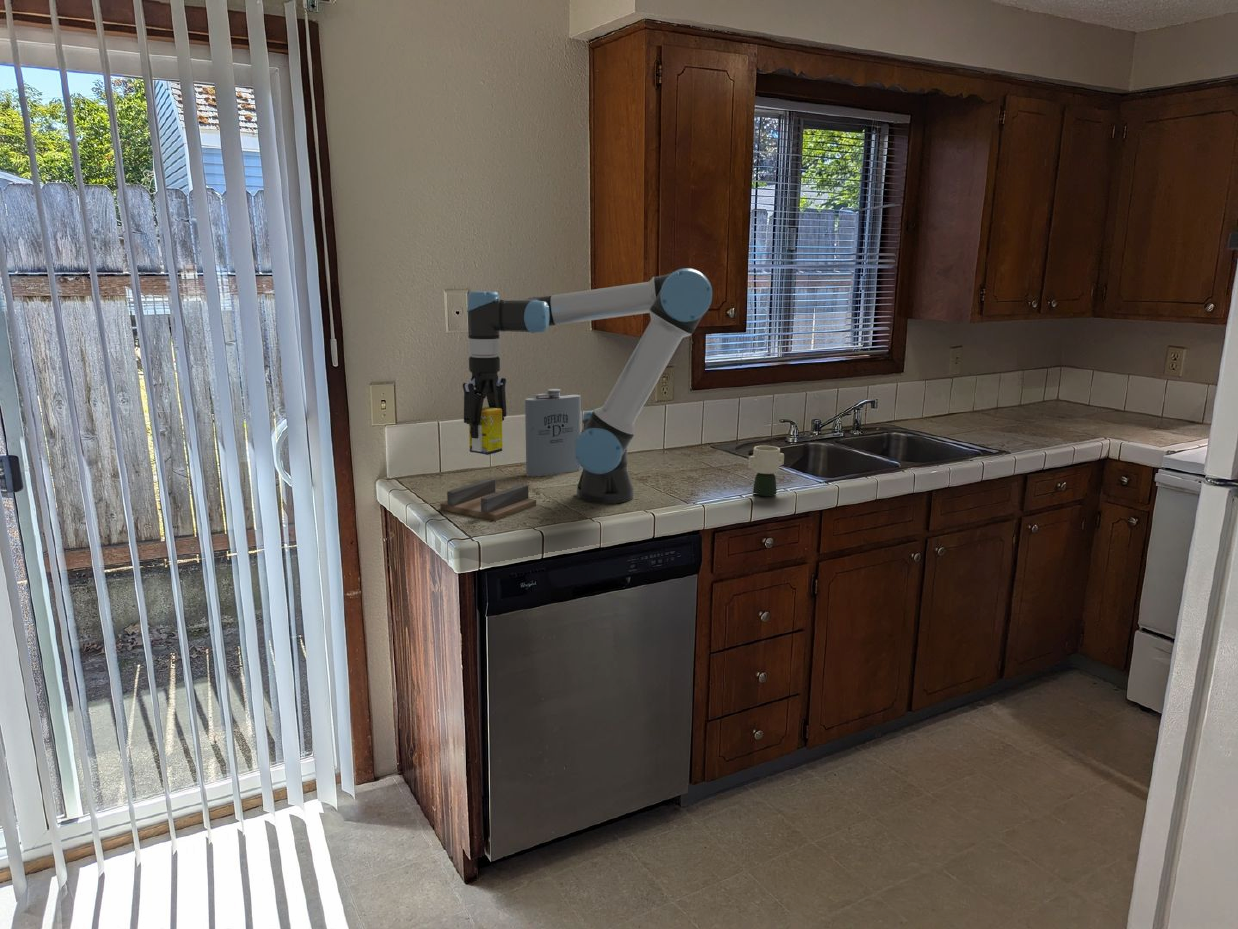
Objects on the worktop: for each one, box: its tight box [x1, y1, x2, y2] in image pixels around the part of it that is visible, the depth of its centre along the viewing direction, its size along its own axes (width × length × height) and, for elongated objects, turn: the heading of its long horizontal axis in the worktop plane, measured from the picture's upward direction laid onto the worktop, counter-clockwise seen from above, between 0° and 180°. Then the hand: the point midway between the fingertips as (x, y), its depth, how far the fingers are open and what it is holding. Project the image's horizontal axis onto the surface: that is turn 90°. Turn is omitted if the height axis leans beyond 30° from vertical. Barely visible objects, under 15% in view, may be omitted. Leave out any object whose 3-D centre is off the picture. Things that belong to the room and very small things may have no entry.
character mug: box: [748, 445, 785, 497], centre depth 230 cm, size 11×7×13 cm, turn 112°
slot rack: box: [439, 478, 537, 522], centre depth 218 cm, size 18×16×5 cm
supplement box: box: [468, 405, 503, 456], centre depth 214 cm, size 6×6×11 cm
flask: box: [524, 388, 582, 477], centre depth 252 cm, size 17×5×25 cm, turn 121°
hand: (486, 448), depth 215 cm, fingers closed on supplement box, 6 cm apart
